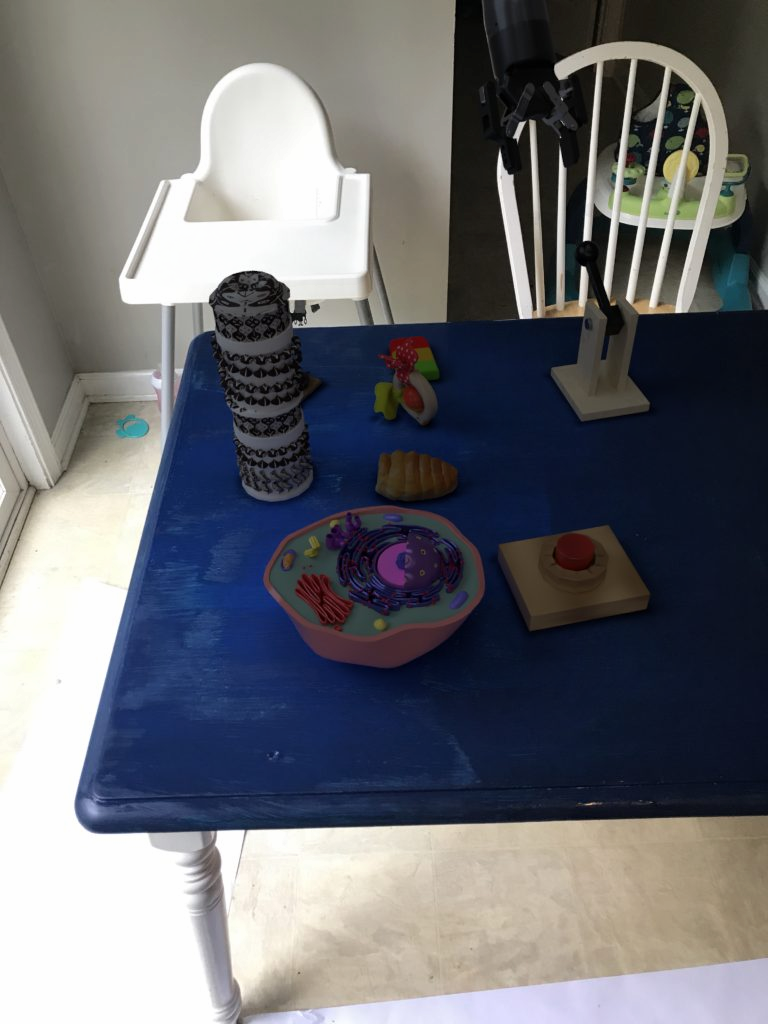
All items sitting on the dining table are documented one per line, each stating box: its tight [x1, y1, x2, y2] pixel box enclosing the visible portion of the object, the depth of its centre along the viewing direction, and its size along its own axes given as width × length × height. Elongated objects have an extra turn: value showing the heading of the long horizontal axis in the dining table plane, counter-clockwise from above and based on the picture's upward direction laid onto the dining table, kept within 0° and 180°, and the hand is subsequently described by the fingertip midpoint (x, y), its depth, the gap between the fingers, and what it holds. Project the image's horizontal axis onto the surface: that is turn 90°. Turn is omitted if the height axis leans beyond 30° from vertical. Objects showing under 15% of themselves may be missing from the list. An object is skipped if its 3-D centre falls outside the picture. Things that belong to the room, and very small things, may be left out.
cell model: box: [262, 505, 486, 669], centre depth 77 cm, size 17×20×11 cm
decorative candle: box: [208, 270, 314, 503], centre depth 90 cm, size 9×9×25 cm
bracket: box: [550, 296, 651, 422], centre depth 104 cm, size 11×9×12 cm
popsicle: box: [388, 335, 440, 382], centre depth 112 cm, size 6×15×2 cm, turn 9°
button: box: [555, 533, 595, 571], centre depth 81 cm, size 4×4×2 cm
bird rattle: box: [373, 338, 439, 427], centre depth 103 cm, size 6×11×9 cm
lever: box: [573, 240, 625, 338], centre depth 103 cm, size 13×3×3 cm, turn 12°
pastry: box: [374, 449, 459, 502], centre depth 95 cm, size 9×7×4 cm
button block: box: [497, 524, 651, 632], centre depth 83 cm, size 12×10×4 cm
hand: (543, 169), depth 103 cm, fingers open, 8 cm apart
